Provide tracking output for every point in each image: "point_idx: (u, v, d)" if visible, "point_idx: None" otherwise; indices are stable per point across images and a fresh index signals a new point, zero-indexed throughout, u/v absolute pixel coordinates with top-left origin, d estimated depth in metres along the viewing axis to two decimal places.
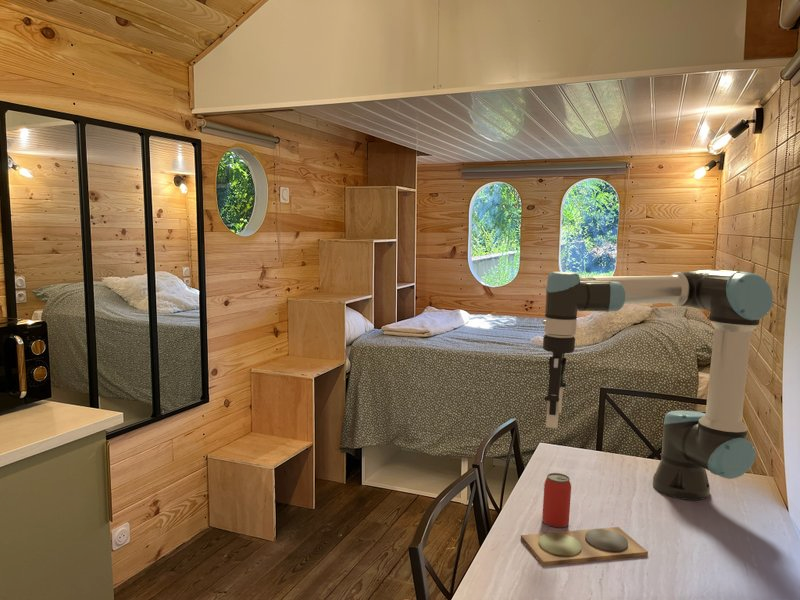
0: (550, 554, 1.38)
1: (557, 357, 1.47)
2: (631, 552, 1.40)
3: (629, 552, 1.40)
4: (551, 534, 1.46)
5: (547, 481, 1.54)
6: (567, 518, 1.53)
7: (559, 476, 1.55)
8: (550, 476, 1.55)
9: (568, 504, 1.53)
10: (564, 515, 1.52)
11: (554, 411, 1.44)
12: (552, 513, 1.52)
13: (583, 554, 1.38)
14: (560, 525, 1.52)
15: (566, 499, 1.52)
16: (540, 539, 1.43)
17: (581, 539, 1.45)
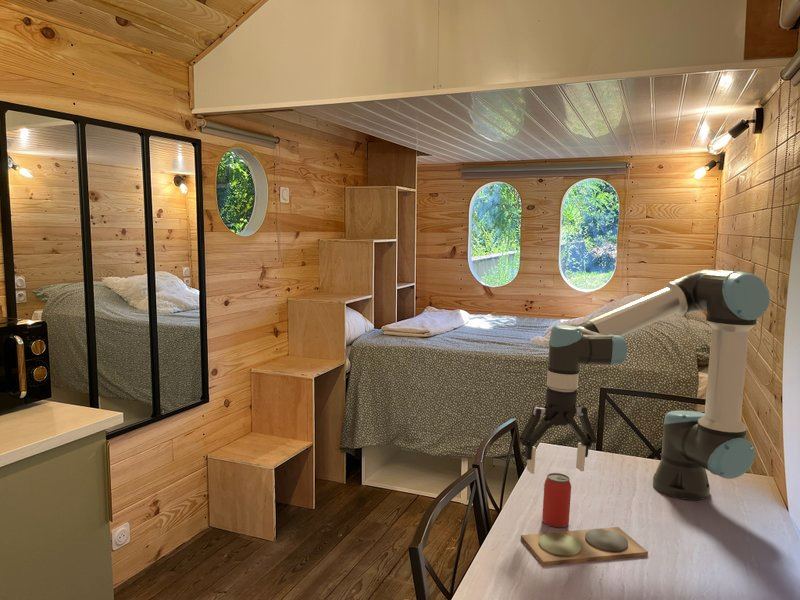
0: (550, 554, 1.38)
1: (547, 407, 1.51)
2: (631, 552, 1.40)
3: (629, 552, 1.40)
4: (551, 534, 1.46)
5: (547, 481, 1.54)
6: (567, 518, 1.53)
7: (559, 476, 1.55)
8: (550, 476, 1.55)
9: (568, 504, 1.53)
10: (564, 515, 1.52)
11: (526, 455, 1.51)
12: (552, 513, 1.52)
13: (583, 554, 1.38)
14: (560, 525, 1.52)
15: (566, 499, 1.52)
16: (540, 539, 1.43)
17: (581, 539, 1.45)
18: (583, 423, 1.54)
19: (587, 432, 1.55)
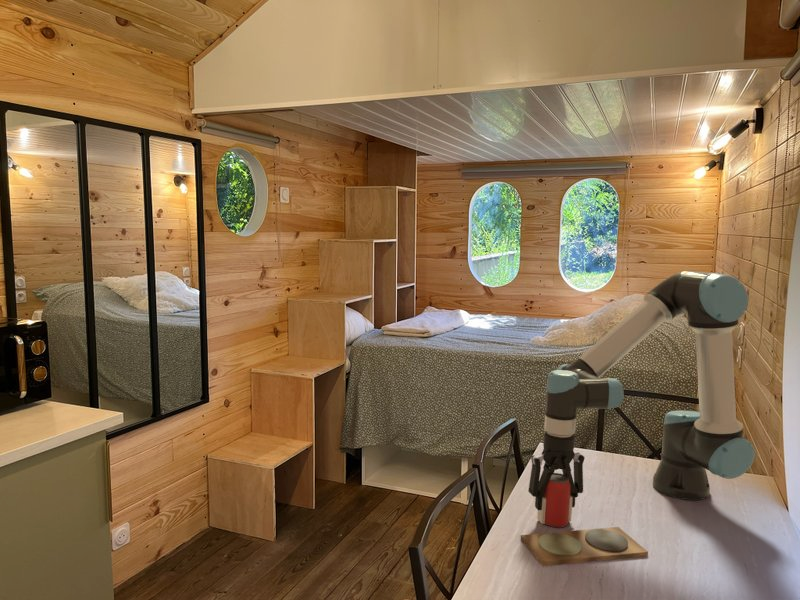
0: (550, 554, 1.38)
1: (544, 453, 1.53)
2: (631, 552, 1.40)
3: (629, 552, 1.40)
4: (551, 534, 1.46)
5: None
6: (566, 518, 1.53)
7: (558, 476, 1.55)
8: None
9: (567, 504, 1.52)
10: (563, 515, 1.52)
11: (537, 506, 1.54)
12: (551, 513, 1.52)
13: (583, 554, 1.38)
14: (559, 525, 1.52)
15: (565, 499, 1.52)
16: (540, 539, 1.43)
17: (581, 539, 1.45)
18: (576, 470, 1.55)
19: (576, 480, 1.56)
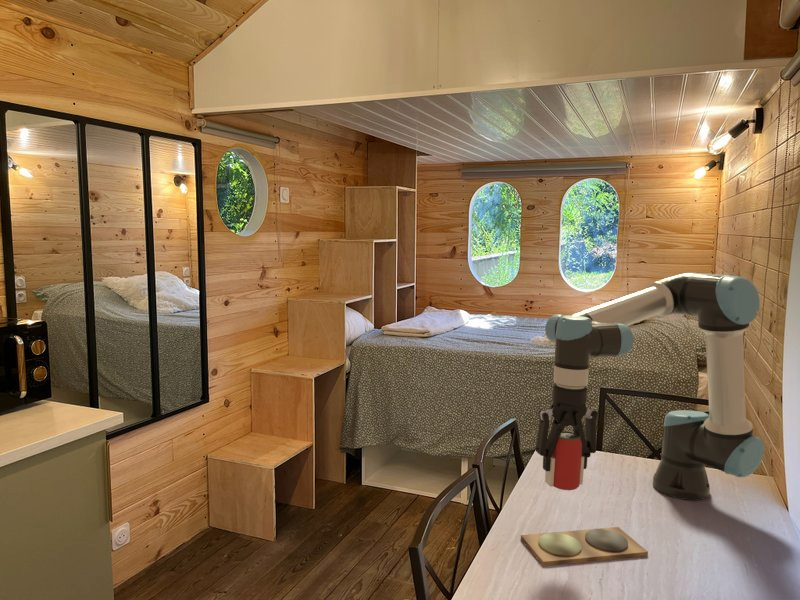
0: (550, 554, 1.38)
1: (553, 407, 1.37)
2: (631, 552, 1.40)
3: (629, 552, 1.40)
4: (551, 534, 1.46)
5: None
6: (577, 480, 1.37)
7: (568, 434, 1.40)
8: None
9: (579, 464, 1.37)
10: (574, 477, 1.37)
11: (545, 466, 1.38)
12: (561, 474, 1.37)
13: (583, 554, 1.38)
14: (570, 487, 1.37)
15: (576, 458, 1.36)
16: (540, 539, 1.43)
17: (581, 539, 1.45)
18: (588, 428, 1.40)
19: (589, 439, 1.40)
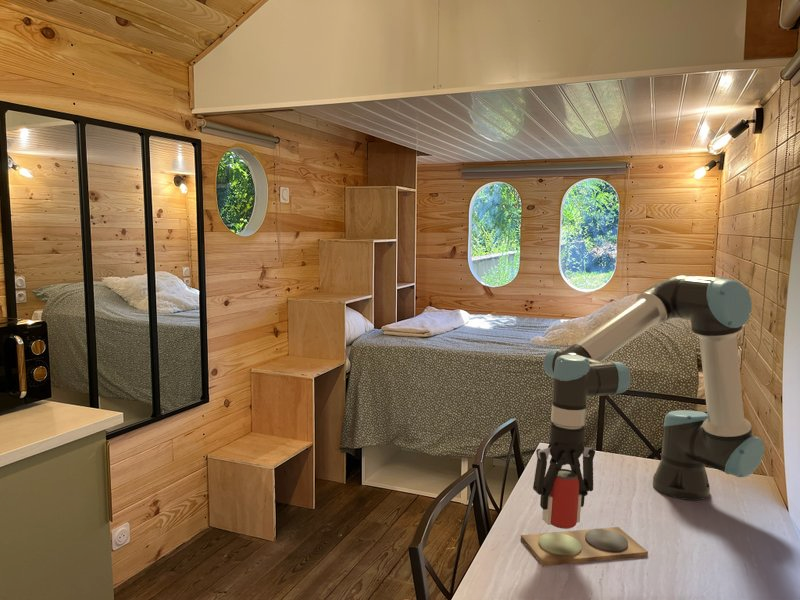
0: (550, 554, 1.38)
1: (550, 446, 1.38)
2: (631, 552, 1.40)
3: (629, 552, 1.40)
4: (551, 534, 1.46)
5: None
6: (575, 518, 1.38)
7: (566, 472, 1.41)
8: None
9: (576, 503, 1.38)
10: (571, 515, 1.38)
11: (542, 505, 1.39)
12: (558, 512, 1.38)
13: (583, 554, 1.38)
14: (567, 526, 1.38)
15: (574, 497, 1.37)
16: (540, 539, 1.43)
17: (581, 539, 1.45)
18: (585, 466, 1.41)
19: (586, 477, 1.41)
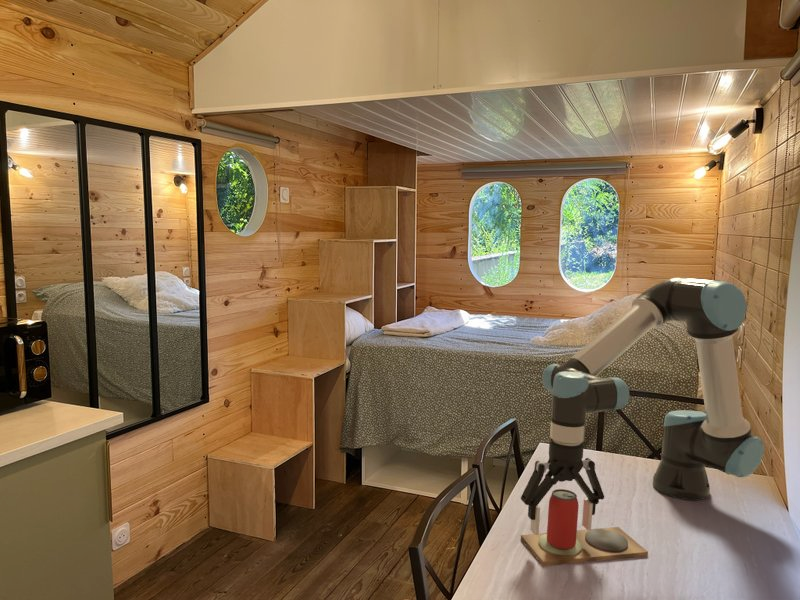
0: (550, 554, 1.38)
1: (550, 462, 1.39)
2: (631, 552, 1.40)
3: (629, 552, 1.40)
4: None
5: (552, 498, 1.40)
6: (574, 539, 1.39)
7: (565, 493, 1.41)
8: (555, 493, 1.41)
9: (575, 524, 1.39)
10: (570, 536, 1.38)
11: (530, 515, 1.39)
12: (557, 533, 1.38)
13: (583, 554, 1.38)
14: (566, 547, 1.38)
15: (573, 518, 1.38)
16: (540, 539, 1.43)
17: (581, 539, 1.45)
18: (590, 478, 1.42)
19: (594, 487, 1.42)
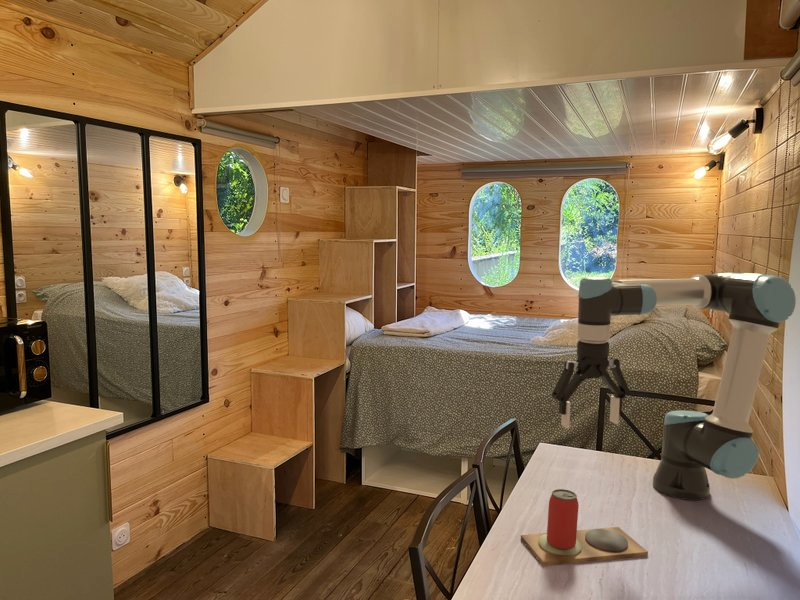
0: (550, 554, 1.38)
1: (579, 361, 1.49)
2: (631, 552, 1.40)
3: (629, 552, 1.40)
4: None
5: (552, 498, 1.40)
6: (574, 539, 1.39)
7: (565, 493, 1.41)
8: (555, 493, 1.41)
9: (575, 524, 1.39)
10: (570, 536, 1.38)
11: (561, 410, 1.49)
12: (557, 533, 1.38)
13: (583, 554, 1.38)
14: (566, 547, 1.38)
15: (573, 518, 1.38)
16: (540, 539, 1.43)
17: (581, 539, 1.45)
18: (615, 375, 1.52)
19: (620, 384, 1.53)
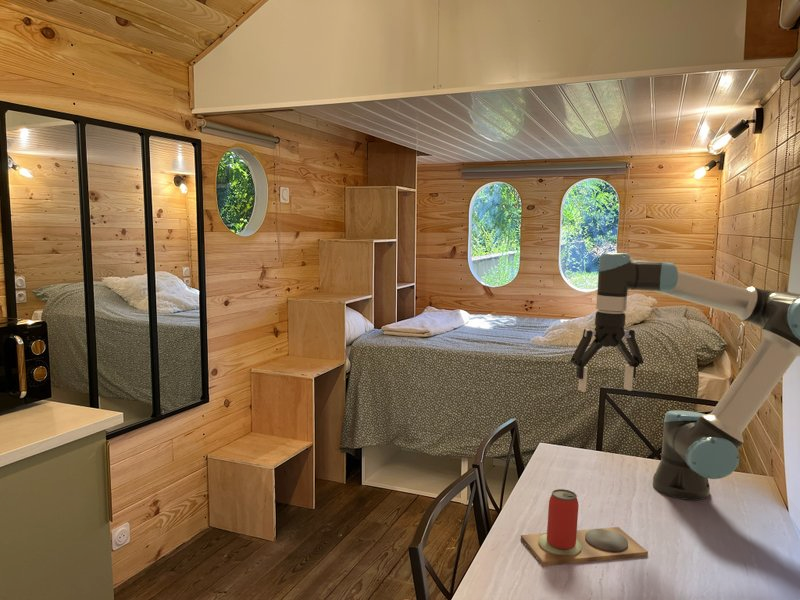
0: (550, 554, 1.38)
1: (597, 329, 1.61)
2: (631, 552, 1.40)
3: (629, 552, 1.40)
4: None
5: (552, 498, 1.40)
6: (574, 539, 1.39)
7: (565, 493, 1.41)
8: (555, 493, 1.41)
9: (575, 524, 1.39)
10: (570, 536, 1.38)
11: (578, 375, 1.61)
12: (557, 533, 1.38)
13: (583, 554, 1.38)
14: (566, 547, 1.38)
15: (573, 518, 1.38)
16: (540, 539, 1.43)
17: (581, 539, 1.45)
18: (630, 345, 1.64)
19: (634, 354, 1.64)
